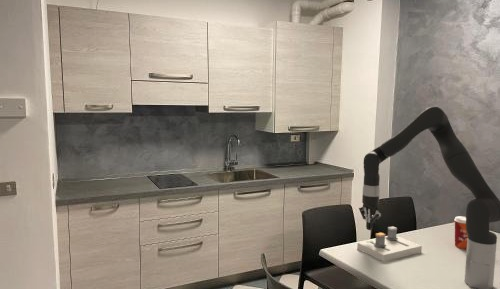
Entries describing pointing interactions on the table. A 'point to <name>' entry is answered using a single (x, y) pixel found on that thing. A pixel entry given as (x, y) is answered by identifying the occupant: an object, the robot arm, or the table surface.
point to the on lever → (392, 233)
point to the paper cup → (460, 232)
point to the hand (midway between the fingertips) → (369, 229)
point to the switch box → (390, 248)
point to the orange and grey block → (380, 240)
